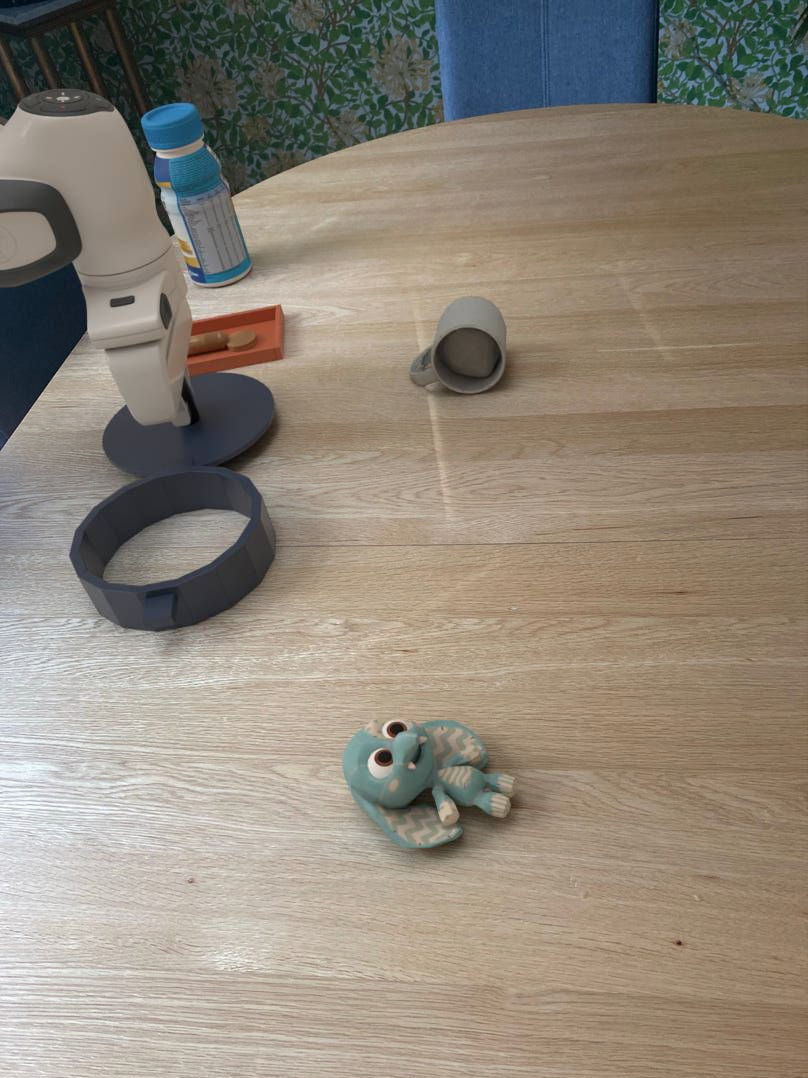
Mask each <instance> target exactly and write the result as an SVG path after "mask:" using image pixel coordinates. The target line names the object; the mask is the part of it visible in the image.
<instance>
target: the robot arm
mask: <svg viewBox="0 0 808 1078" xmlns="http://www.w3.org/2000/svg"><path fill="white" fill-rule="evenodd" d="M71 263H72V265H73V267H74V269H75V272H76V274H77V276H78V279H79V281H80V284H81V291H82V293H83V295H84V299H85V304H86V326H87V329H86V330H87V334H88V337H89V340H90V341H91V343H92V346H93V348H94V349H95V350H97V351H98V350H99V351H101V350H104V356H105V361H106V365H107V366H108V370H109V372H110V374H111V377H112V378H113V381H114V382H115V385H116V387H117V388H118V391H119V393H120V396H121V397H122V399H123V400H124V403H125V405H127V407H128V409H129V410H130V412H131V414H132V416H133V417H134V418H135V420H137V421H138V422H139V423H140V424H142V425H144V426H149V425H155V424H161V423H166V422H171V421H172V424H173V425H174V426H176V427H179V426H185V425H189V424H190V421H191V411H190V409H189V406H188V403H187V402H184V400H183V398H182V396H181V392H182V386H183V380H184V377H185V378H186V381H187V384H188V386H189V389H190V391H191V394H192V397H193V399H194V391H193V388H192V385H191V383H190V377H189V371H188V365H187V355H188V349H189V343H190V337H191V330H192V325H193V321H194V320H193V314H192V310H191V307H190V305H189V302H188V299H187V297H186V296H187V294H188V289H189V288H188V287H189V286H188V283H187V281H186V279H185V276H184V272H183V270H182V267H181V265H180V264H181V263H180V261H179V259H178V256H177V253H176V250H175V247H174V244H173V241H172V239H171V236H170V234H169V232H168V230H167V229H166V227H165V226H164V224H163V222H161V219H160V218H159V215H158V211H157V208H156V196H155V190H154V188H153V184H152V181H151V178H150V176H149V173H148V171H147V168H146V165H145V163H144V160H143V158H142V155H141V153H140V151H139V148H138V145H137V143H136V141H135V139H134V136H133V135H132V133H131V130H130V129H129V127H128V124H127V123H126V121H125V119H124V118H123V116H122V114H121V113H120V112H119V111H118V109H117V108H116V106H114V104H113V103H111V102H110V101H109V100H107V99H106V98H105V97H103V96H101V95H99V94H97V93H95V92H90V91H86V90H83V89H74V88H56V89H48V90H43V91H39V92H37V93H32V94H30V95H28V96H26V97H24V98H22V99H21V100H20V101H19V103H18V104H17V107H16V109H15V111H14V112H13V114H12V116H11V117H10V118H9V119H8V118H5V117H3V116H1V115H0V288H14V287H19V286H22V285H26V284H28V283H31V282H33V281H36V280H38V279H41V278H43V277H45V276H47V275H50V274H52V273H54V272H56V271H59V270H60V269H62V268H64V267H66V266H68V265H70V264H71Z"/></svg>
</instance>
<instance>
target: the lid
mask: <svg viewBox="0 0 808 1078" xmlns="http://www.w3.org/2000/svg"><path fill="white" fill-rule="evenodd" d="M189 377H190V383H191V385H192V388H193V391H194V399H193V397H192V394H191V391H190V389H189V386H188V384H187V381H186V378H185V377H184V380H183V386H182V392H181V396H182V398H183V400H184V402H187V403H188V406H189V409H190V411H191V421H190V424H189V425H185V426H179V427H176V426H174V425H173V424H172V421H171V422H166V423H161V424H155V425H149V426H144V425H142V424H140V423H139V422H138V421H137V420H135V418H134V417H133V416H132V414H131V412H130V410H129V409H128V407H127V405H126V404H125V405H123V406H122V407H120V409H119V410H118V411H117V412H116V413H115V414H113V416H112V417H111V418H110V420H109V421H108V422H107V424H106V426H105V428H104V431H103V434H102V439H101V445H102V450H103V452H104V455H105V458H107V460H108V461H109V462H110V463H111V464H112V466H114V467H115V468H116V469H118V470H120V471H122V472H124V473H127V474H130V475H133V476H138V477H143V478H144V477H147V476H149V475H152V474H154V473H156V472H161V471H166V469H167V463H168V460H172V459H177V458H183V457H188V456H193V458H194V461H195V463H196V466H213V467H217V466H218V465H221V464H223V463H225V462H228V461H231V460H232V459H233V458H235V457H237V456H239V455H240V454H242V453H243V452H245V451H246V450H248V449H249V448H251V447H252V446H253V445H254V444H256V442H258V441H259V440H260V439H261V438H262V437H263V436H264V435H265V433H266V432H267V431H268V429H269V428H270V427H271V425H272V423H273V421H274V418H275V415H276V410H277V409H276V408H277V407H276V401H275V398H274V395H273V392H272V391H271V390H270V388H269V387H268V386H267V385H266V384H265V383H264V382H262V381H261V380H259V379H257V378H254V377H253V376H249V375H245V374H241V373H235V372H213V373H204V374H197V375H192V376H189Z"/></svg>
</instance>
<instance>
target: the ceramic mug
mask: <svg viewBox="0 0 808 1078" xmlns="http://www.w3.org/2000/svg"><path fill="white" fill-rule="evenodd" d="M429 364H430V366H431V367H428V368H427V366H428V365H429ZM506 364H507V325H506V322H505V318H504V316H503V313H502V312H501V310H500V309H499V307H497V305H495V304H494V303H493V302H492V301H490V300H488V299H486V298H484V297H481V296H477V295H476V296H475V295H468V296H462V297H460V298H456V299H455V300H454V301H452V302H451V303H450V304H449V305H448V306H447V307H446V308H445V309H444V310H443V311H442V314H441V315H440V317H439V321H438V322H437V325H436V331H435V335H434V338H433V343H432V344H431V345H429V346H428V347H426V348H425V349H423V350H422V351H421V352H420V353H419V354H418V355H417V356H416V357H415V358H414V360H413V361H412V363H411V364H410V365H409V366H410V367H409V370H408V373H409V376H410V377H411V379H412V380H413V381H414V383H415V384H416V385H419V386H422V387H425V386H428V385H431V384H434V383H436V382H438V381H439V383H441V384H442V385H443V386H444V387H446V388H447V389H449V390H451V391H452V392H455V393H459V394H465V395H474V394H480V393H484V392H485V391H487V390H489V389H491V388H493V387H494V386H495V385H496V384H498V382H499V381H500V379H501V378H502V376H503V374H504V372H505V369H506V366H507V365H506ZM425 368H427V369H425Z"/></svg>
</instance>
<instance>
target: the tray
mask: <svg viewBox="0 0 808 1078" xmlns="http://www.w3.org/2000/svg"><path fill="white" fill-rule="evenodd" d="M242 330H250V331H253V332H255V334H256V337H257V340H258V341H257V344H256V345H255V346H254V347H252V348H251V349H249V350H246V351H242V352H232V351H230V350H228V348H227V347H226V348H224V349H220V350H215V351H209V352H204V353H199V354H194V355H189V356H187V365H188V371H189V376H192V375H197V374H204V373H219V372H223V371H229V370H234V369H238V368H244V367H249V366H255V365H260V364H265V363H270V362H275V361H281V360H284V339H285V338H284V333H285V313H284V311H283V308H282V304H280V303H279V304H273V305H268V306H263V307H259V308H254V309H249V310H243V311H237V312H231V313H227V314H222V315H216V316H212V317H207V318H201V319H196V320H193V325H192V330H191V336H196V335H201V334H206V333H212V332H217V331H222V332H225V333H226V334H227V335H228V336H230V335H231V334H233V333H235V332H238V331H242Z"/></svg>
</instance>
